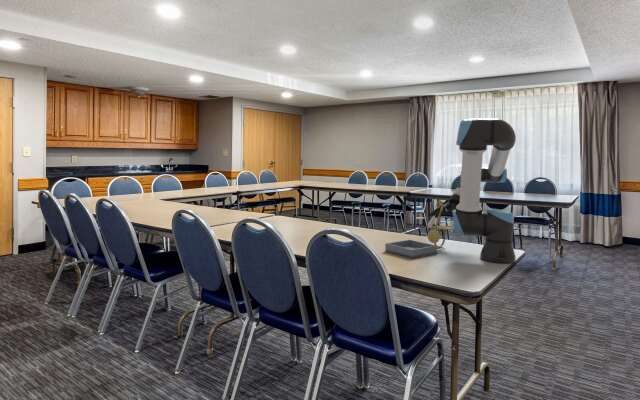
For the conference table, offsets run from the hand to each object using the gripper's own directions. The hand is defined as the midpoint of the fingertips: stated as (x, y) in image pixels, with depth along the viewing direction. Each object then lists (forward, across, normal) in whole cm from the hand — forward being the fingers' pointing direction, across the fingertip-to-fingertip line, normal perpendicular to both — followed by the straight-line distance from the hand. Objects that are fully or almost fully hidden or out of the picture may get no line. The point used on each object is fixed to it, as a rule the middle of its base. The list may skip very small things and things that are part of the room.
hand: (439, 228), depth 221 cm
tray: (+22, 0, +8) cm, 23 cm away
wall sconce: (+7, 0, -7) cm, 10 cm away
